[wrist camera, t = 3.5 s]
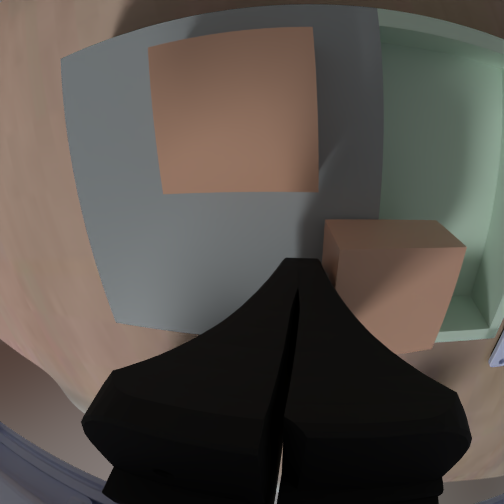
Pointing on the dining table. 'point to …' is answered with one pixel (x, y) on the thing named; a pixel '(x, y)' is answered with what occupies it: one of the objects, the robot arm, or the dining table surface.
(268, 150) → the tile
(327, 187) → the slate board
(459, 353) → the dining table surface
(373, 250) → the tile
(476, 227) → the tray
